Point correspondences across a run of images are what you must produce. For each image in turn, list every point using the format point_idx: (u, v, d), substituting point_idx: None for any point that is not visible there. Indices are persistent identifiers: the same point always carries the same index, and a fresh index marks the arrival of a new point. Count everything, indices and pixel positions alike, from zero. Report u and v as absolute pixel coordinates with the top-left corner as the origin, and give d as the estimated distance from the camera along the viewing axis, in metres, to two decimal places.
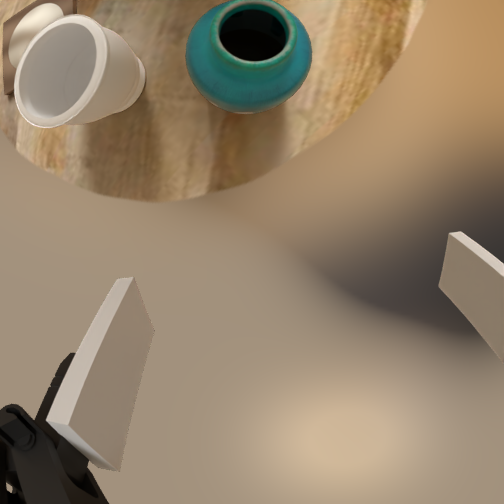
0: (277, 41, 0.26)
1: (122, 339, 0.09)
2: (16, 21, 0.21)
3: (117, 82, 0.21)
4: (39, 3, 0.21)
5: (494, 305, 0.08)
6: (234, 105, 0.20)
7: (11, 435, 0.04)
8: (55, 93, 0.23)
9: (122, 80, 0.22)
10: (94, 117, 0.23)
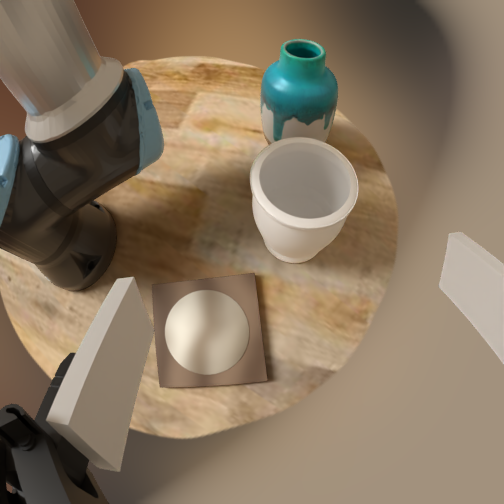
0: None
1: (122, 339, 0.09)
2: (169, 363, 0.35)
3: None
4: (161, 328, 0.37)
5: (494, 305, 0.08)
6: (337, 88, 0.32)
7: (11, 435, 0.04)
8: None
9: None
10: (342, 189, 0.32)
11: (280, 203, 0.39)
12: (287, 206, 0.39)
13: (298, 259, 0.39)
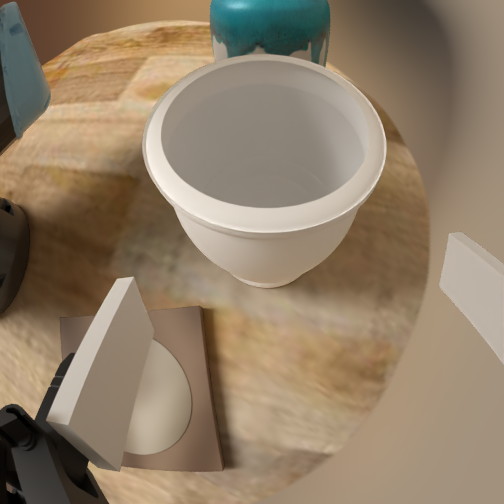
0: None
1: (122, 339, 0.09)
2: None
3: None
4: None
5: (494, 305, 0.08)
6: (328, 7, 0.17)
7: (11, 435, 0.04)
8: (279, 279, 0.17)
9: None
10: (348, 155, 0.16)
11: (241, 189, 0.23)
12: (253, 193, 0.24)
13: (273, 282, 0.23)
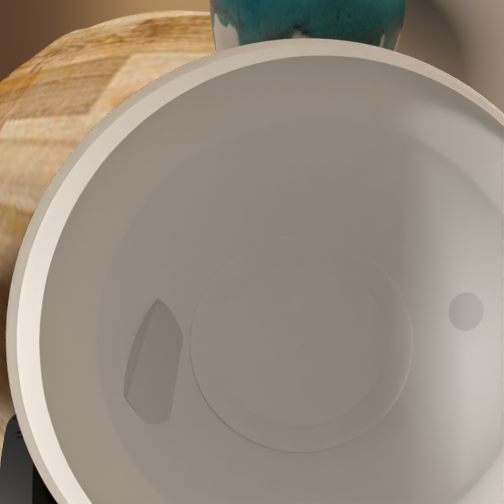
0: None
1: (165, 318, 0.09)
2: None
3: None
4: None
5: (456, 298, 0.08)
6: None
7: None
8: (330, 468, 0.08)
9: None
10: (471, 275, 0.07)
11: (262, 281, 0.15)
12: (281, 287, 0.15)
13: None
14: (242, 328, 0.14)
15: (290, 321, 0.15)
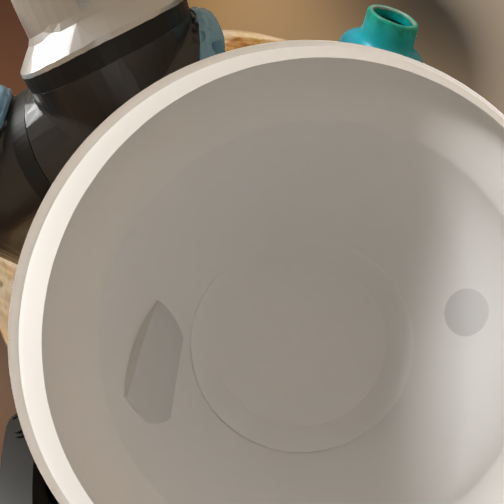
0: None
1: (166, 317, 0.09)
2: None
3: None
4: None
5: (456, 298, 0.09)
6: None
7: None
8: (331, 469, 0.08)
9: None
10: (471, 276, 0.07)
11: (262, 282, 0.15)
12: (281, 288, 0.15)
13: None
14: (242, 329, 0.14)
15: (290, 322, 0.15)
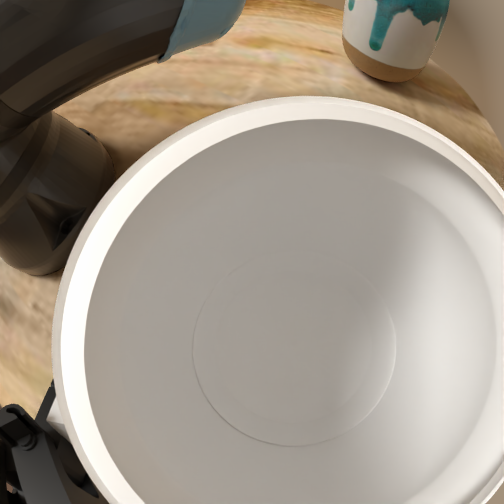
0: None
1: None
2: None
3: None
4: None
5: None
6: None
7: (11, 435, 0.04)
8: (318, 461, 0.10)
9: None
10: (444, 291, 0.09)
11: (257, 291, 0.16)
12: (275, 296, 0.16)
13: None
14: (240, 333, 0.16)
15: (284, 327, 0.16)
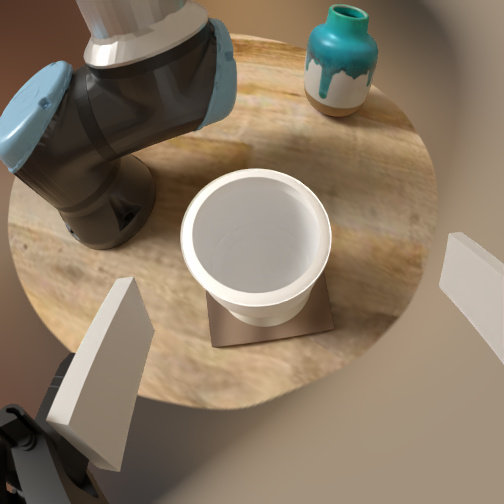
0: None
1: (122, 339, 0.09)
2: (224, 318, 0.33)
3: None
4: None
5: (494, 305, 0.08)
6: (377, 49, 0.31)
7: (11, 435, 0.04)
8: None
9: None
10: (315, 233, 0.25)
11: (242, 245, 0.32)
12: (251, 248, 0.32)
13: None
14: (233, 267, 0.32)
15: (256, 265, 0.33)
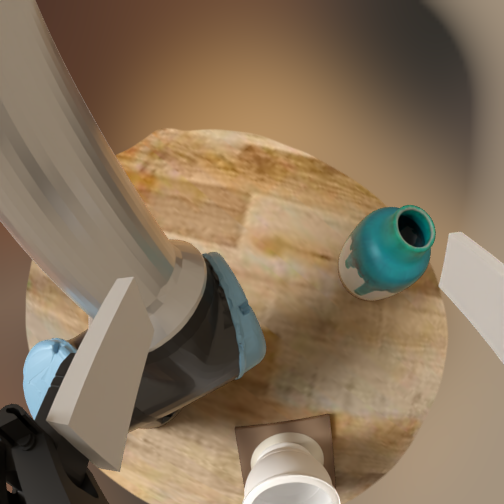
0: None
1: (122, 339, 0.09)
2: None
3: (309, 465, 0.26)
4: (246, 462, 0.36)
5: (494, 305, 0.08)
6: None
7: (11, 435, 0.04)
8: None
9: (306, 461, 0.27)
10: (330, 480, 0.26)
11: None
12: None
13: None
14: None
15: None
